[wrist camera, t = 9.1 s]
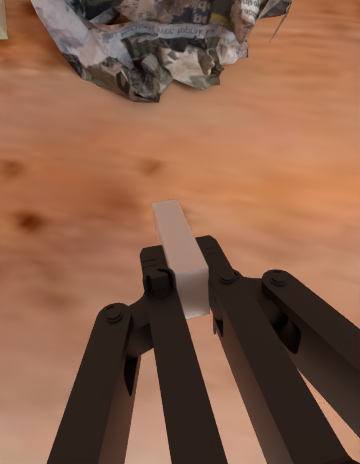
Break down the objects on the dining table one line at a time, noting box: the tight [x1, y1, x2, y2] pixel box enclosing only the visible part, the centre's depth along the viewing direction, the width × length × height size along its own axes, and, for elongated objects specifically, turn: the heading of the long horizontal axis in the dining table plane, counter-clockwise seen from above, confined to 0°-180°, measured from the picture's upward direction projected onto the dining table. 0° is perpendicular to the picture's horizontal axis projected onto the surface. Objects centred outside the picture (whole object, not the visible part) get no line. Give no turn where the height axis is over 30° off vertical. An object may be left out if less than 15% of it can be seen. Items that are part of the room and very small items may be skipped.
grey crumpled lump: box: [31, 0, 292, 103], centre depth 22 cm, size 12×11×15 cm
